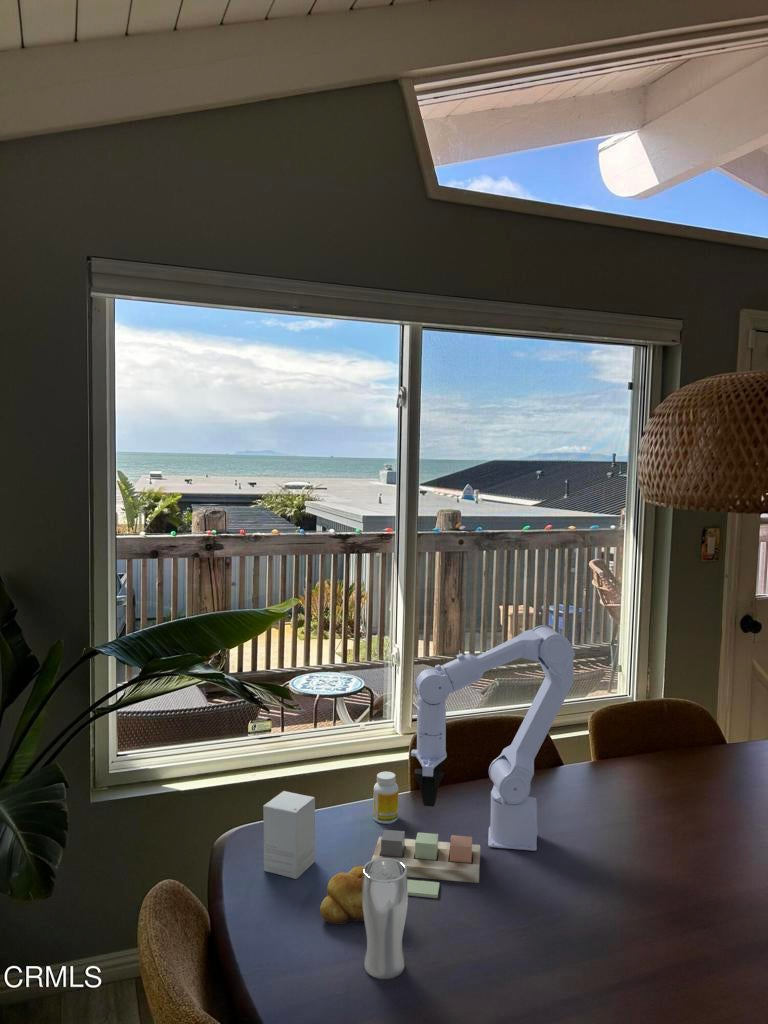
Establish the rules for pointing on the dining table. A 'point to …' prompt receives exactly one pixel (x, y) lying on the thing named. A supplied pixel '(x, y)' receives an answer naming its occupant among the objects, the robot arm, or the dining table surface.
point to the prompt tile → (423, 888)
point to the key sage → (426, 846)
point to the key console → (436, 863)
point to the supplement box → (289, 834)
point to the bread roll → (344, 897)
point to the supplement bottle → (385, 798)
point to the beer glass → (384, 916)
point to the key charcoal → (393, 843)
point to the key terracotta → (461, 849)
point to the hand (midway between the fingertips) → (430, 797)
